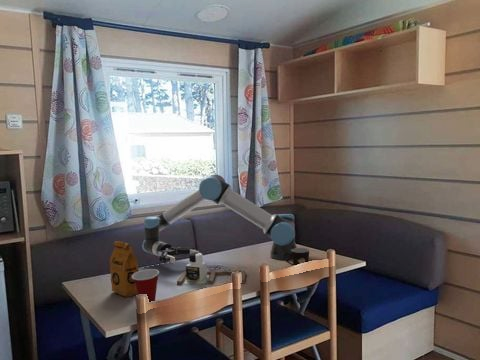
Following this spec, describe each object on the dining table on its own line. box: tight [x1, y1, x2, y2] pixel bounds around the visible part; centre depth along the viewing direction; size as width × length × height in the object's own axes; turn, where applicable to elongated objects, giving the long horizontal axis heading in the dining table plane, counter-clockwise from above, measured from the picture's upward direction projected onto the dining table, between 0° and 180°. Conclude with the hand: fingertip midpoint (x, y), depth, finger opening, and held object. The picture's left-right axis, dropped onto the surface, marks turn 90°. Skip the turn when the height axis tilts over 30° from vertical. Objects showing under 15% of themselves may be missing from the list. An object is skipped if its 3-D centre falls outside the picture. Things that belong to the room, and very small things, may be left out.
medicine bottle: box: [185, 252, 208, 282], centre depth 192 cm, size 7×7×12 cm
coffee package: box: [109, 240, 140, 298], centre depth 177 cm, size 10×12×22 cm
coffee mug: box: [283, 247, 310, 266], centre depth 199 cm, size 12×9×10 cm
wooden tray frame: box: [176, 269, 246, 286], centre depth 192 cm, size 30×14×2 cm, turn 87°
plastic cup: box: [132, 268, 160, 302], centre depth 166 cm, size 11×11×12 cm
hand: (186, 257), depth 197 cm, fingers open, 13 cm apart
